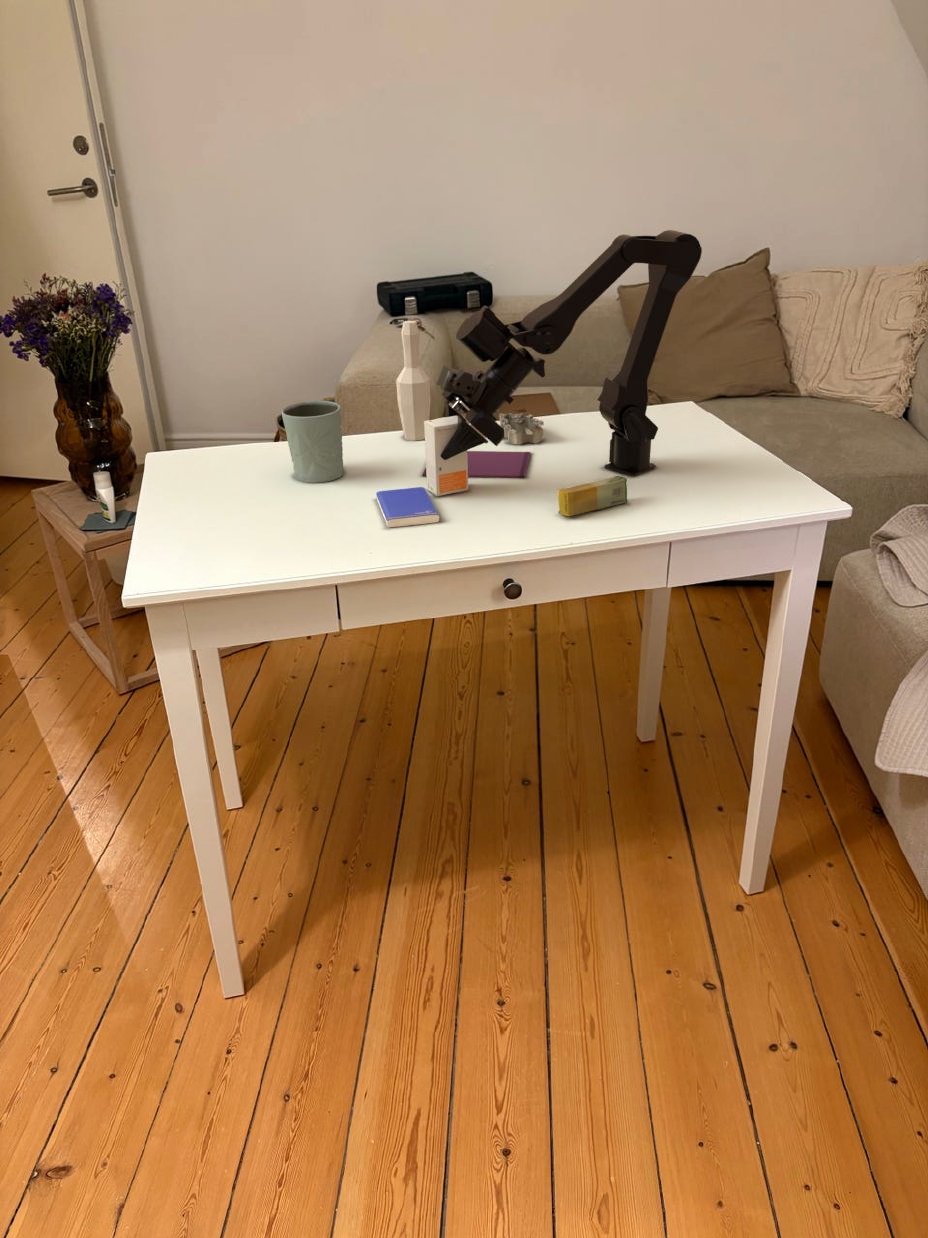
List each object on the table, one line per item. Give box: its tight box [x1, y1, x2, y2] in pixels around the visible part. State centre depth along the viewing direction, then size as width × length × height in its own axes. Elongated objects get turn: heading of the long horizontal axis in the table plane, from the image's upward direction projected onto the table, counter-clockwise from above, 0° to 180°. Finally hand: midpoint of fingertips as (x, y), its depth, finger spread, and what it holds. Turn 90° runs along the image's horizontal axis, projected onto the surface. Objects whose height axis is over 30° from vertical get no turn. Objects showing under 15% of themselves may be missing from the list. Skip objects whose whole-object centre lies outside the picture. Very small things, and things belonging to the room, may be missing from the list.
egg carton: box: [498, 412, 545, 446], centre depth 188 cm, size 11×8×4 cm
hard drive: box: [375, 486, 440, 528], centre depth 156 cm, size 2×8×12 cm
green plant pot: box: [281, 400, 344, 484], centre depth 170 cm, size 10×10×12 cm
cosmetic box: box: [424, 416, 469, 497], centre depth 161 cm, size 6×4×12 cm
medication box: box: [557, 475, 628, 517], centre depth 153 cm, size 12×3×4 cm, turn 121°
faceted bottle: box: [395, 320, 431, 441], centre depth 185 cm, size 6×6×22 cm
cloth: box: [421, 450, 531, 479], centre depth 175 cm, size 18×13×1 cm
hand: (438, 453), depth 160 cm, fingers closed on cosmetic box, 4 cm apart
